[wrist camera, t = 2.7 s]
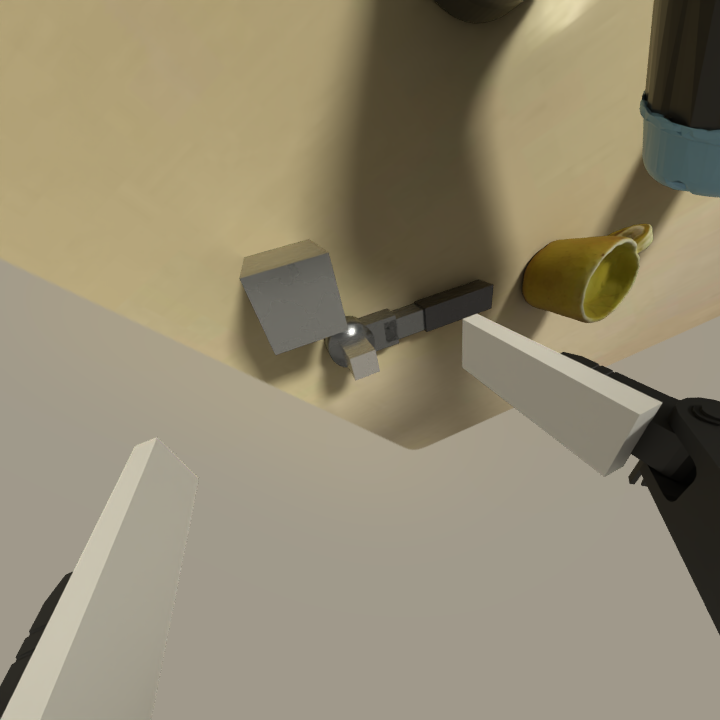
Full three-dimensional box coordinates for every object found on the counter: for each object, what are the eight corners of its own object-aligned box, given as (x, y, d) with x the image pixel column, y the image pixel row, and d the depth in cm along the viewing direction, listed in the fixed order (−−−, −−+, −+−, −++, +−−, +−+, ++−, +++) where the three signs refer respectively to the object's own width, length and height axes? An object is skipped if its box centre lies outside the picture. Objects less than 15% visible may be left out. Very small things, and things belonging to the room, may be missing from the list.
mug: (529, 335, 38) (612, 339, 28) (498, 275, 35) (580, 258, 25) (581, 283, 40) (676, 271, 30) (556, 222, 36) (654, 188, 27)
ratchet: (479, 270, 32) (523, 284, 27) (476, 309, 35) (516, 328, 30) (318, 324, 29) (332, 352, 23) (331, 362, 31) (346, 394, 26)
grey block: (244, 257, 23) (239, 278, 17) (309, 239, 24) (328, 252, 18) (270, 317, 26) (275, 355, 20) (326, 299, 27) (348, 329, 21)
